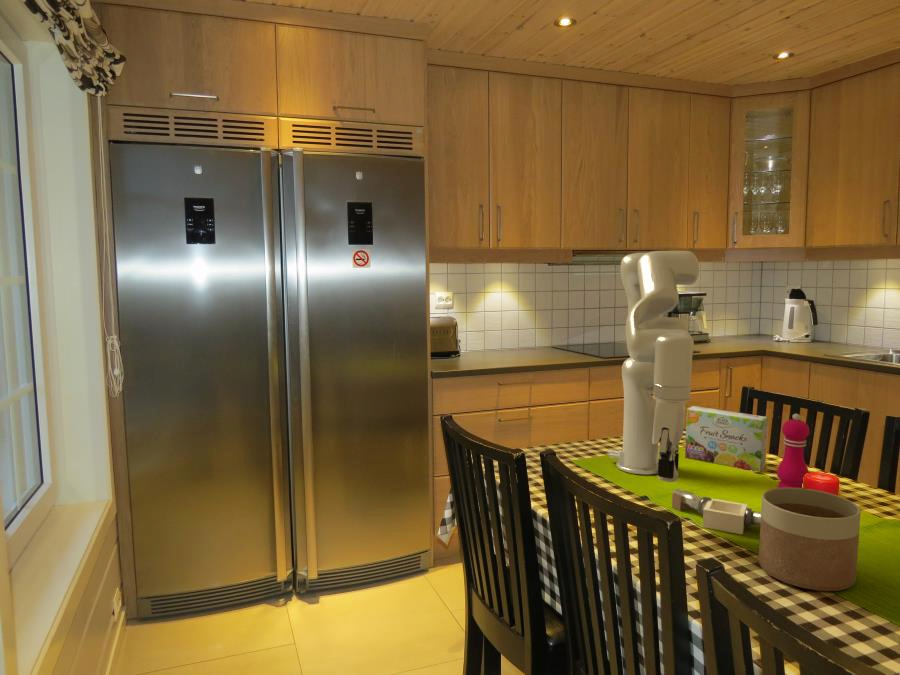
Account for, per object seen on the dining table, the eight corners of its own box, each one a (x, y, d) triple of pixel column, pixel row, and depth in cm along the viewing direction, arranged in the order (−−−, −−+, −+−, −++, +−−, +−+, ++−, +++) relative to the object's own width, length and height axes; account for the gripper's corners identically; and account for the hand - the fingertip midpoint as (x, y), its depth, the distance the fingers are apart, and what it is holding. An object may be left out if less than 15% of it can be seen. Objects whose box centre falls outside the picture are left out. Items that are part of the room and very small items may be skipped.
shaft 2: (743, 531, 140) (744, 511, 140) (745, 524, 144) (746, 504, 144) (790, 540, 136) (791, 519, 135) (791, 532, 140) (792, 512, 139)
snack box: (683, 458, 193) (686, 408, 192) (690, 454, 198) (693, 405, 196) (760, 473, 180) (763, 419, 178) (766, 468, 184) (769, 415, 182)
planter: (819, 602, 111) (824, 525, 110) (739, 564, 125) (743, 495, 123) (874, 582, 118) (880, 508, 117) (793, 548, 132) (797, 482, 131)
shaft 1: (713, 515, 149) (714, 496, 149) (700, 519, 147) (701, 500, 147) (682, 503, 157) (683, 485, 156) (669, 506, 155) (670, 488, 154)
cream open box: (702, 527, 143) (703, 509, 142) (708, 514, 150) (709, 498, 149) (742, 534, 139) (743, 516, 138) (746, 521, 146) (747, 504, 145)
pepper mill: (812, 497, 161) (817, 417, 159) (780, 495, 162) (785, 416, 160) (802, 487, 168) (807, 411, 166) (772, 485, 169) (776, 409, 167)
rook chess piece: (653, 475, 145) (655, 440, 144) (673, 474, 146) (675, 440, 144) (662, 482, 141) (663, 447, 140) (682, 482, 141) (683, 446, 140)
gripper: (662, 382, 149) (658, 459, 152) (644, 398, 135) (641, 483, 138) (696, 386, 146) (692, 465, 148) (682, 402, 131) (678, 489, 134)
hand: (668, 472), depth 143 cm, fingers closed on rook chess piece, 4 cm apart
